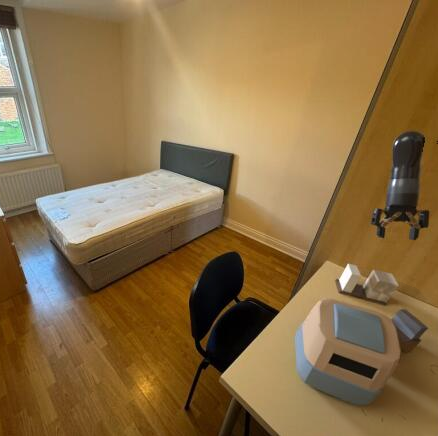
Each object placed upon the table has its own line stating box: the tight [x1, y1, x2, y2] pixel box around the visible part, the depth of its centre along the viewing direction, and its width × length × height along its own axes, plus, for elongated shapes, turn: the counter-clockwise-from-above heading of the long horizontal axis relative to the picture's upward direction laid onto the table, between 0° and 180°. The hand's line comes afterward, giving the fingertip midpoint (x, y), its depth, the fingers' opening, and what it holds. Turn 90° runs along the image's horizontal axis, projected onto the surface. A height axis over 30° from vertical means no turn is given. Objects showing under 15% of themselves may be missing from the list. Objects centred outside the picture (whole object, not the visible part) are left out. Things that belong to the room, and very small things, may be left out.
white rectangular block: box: [338, 263, 362, 293], centre depth 92 cm, size 3×6×9 cm, turn 154°
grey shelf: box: [390, 308, 429, 354], centre depth 72 cm, size 18×7×12 cm, turn 94°
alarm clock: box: [294, 297, 402, 406], centre depth 62 cm, size 17×17×23 cm
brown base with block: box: [334, 269, 400, 306], centre depth 90 cm, size 14×7×10 cm, turn 64°
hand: (396, 238), depth 81 cm, fingers open, 8 cm apart
